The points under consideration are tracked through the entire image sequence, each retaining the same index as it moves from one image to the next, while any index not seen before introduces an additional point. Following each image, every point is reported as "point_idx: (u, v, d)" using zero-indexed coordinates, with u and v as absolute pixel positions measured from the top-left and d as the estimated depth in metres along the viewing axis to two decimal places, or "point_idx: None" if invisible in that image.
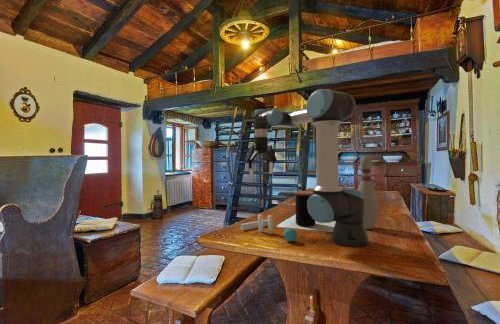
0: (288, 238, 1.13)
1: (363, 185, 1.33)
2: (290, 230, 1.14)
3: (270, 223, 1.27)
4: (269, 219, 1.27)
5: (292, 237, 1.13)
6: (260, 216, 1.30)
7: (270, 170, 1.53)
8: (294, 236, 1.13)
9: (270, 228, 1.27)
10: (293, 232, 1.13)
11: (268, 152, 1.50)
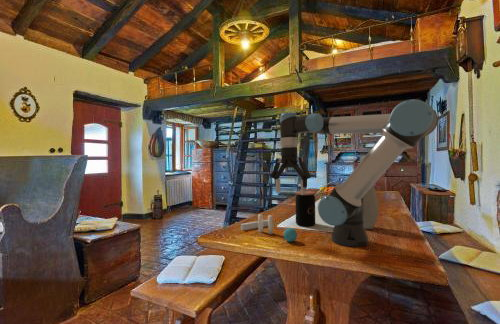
0: (288, 238, 1.13)
1: None
2: (290, 230, 1.14)
3: (270, 223, 1.27)
4: (269, 219, 1.27)
5: (292, 237, 1.13)
6: (260, 216, 1.30)
7: None
8: (294, 236, 1.13)
9: (270, 228, 1.27)
10: (293, 232, 1.13)
11: (294, 166, 1.15)
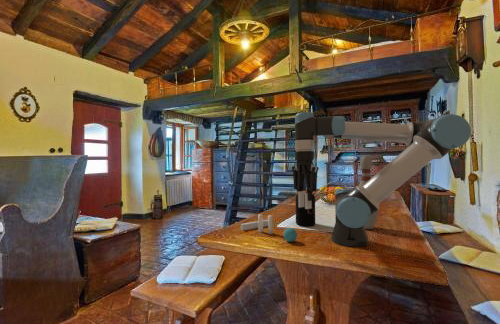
0: (288, 238, 1.13)
1: None
2: (290, 230, 1.14)
3: (270, 223, 1.27)
4: (269, 219, 1.27)
5: (292, 237, 1.13)
6: (260, 216, 1.30)
7: None
8: (294, 236, 1.13)
9: (270, 228, 1.27)
10: (293, 232, 1.13)
11: (305, 175, 1.04)
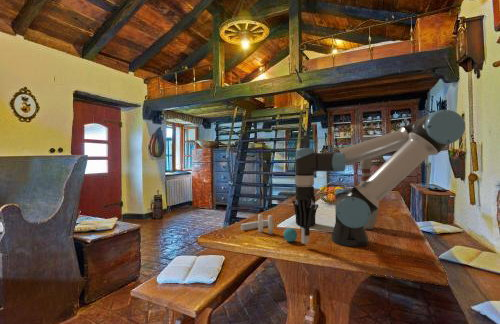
0: (288, 238, 1.13)
1: None
2: (290, 230, 1.14)
3: (270, 223, 1.27)
4: (269, 219, 1.27)
5: (292, 237, 1.13)
6: (260, 216, 1.30)
7: None
8: (294, 236, 1.13)
9: (270, 228, 1.27)
10: (293, 232, 1.13)
11: (304, 210, 1.05)
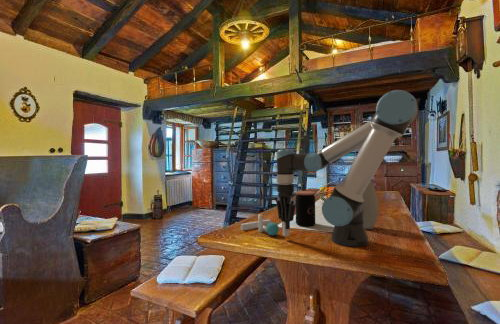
0: (266, 229, 1.26)
1: None
2: None
3: None
4: None
5: None
6: (260, 216, 1.30)
7: None
8: None
9: (265, 227, 1.32)
10: None
11: (285, 206, 1.16)
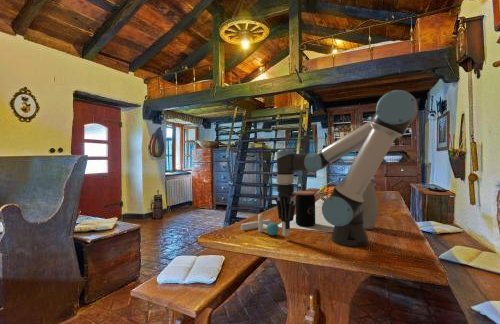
0: (266, 229, 1.26)
1: None
2: None
3: None
4: None
5: None
6: (260, 216, 1.30)
7: None
8: None
9: None
10: None
11: (285, 206, 1.16)
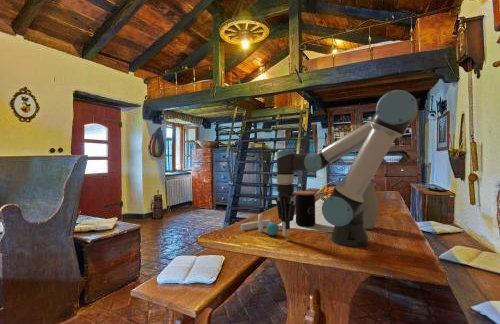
0: (266, 229, 1.26)
1: None
2: None
3: None
4: None
5: None
6: (260, 216, 1.30)
7: None
8: None
9: None
10: None
11: (285, 206, 1.16)
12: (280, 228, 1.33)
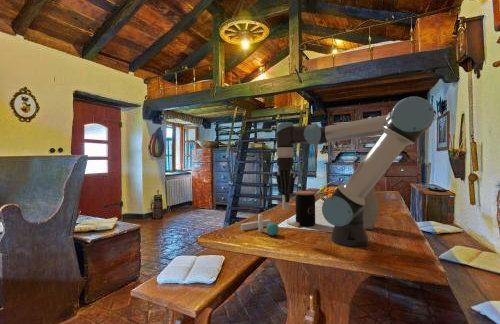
0: (266, 229, 1.26)
1: None
2: None
3: (291, 224, 1.44)
4: None
5: None
6: (260, 216, 1.30)
7: None
8: None
9: (294, 225, 1.42)
10: None
11: (284, 179, 1.16)
12: (298, 225, 1.40)
